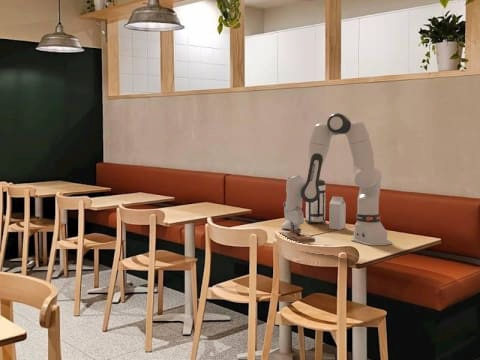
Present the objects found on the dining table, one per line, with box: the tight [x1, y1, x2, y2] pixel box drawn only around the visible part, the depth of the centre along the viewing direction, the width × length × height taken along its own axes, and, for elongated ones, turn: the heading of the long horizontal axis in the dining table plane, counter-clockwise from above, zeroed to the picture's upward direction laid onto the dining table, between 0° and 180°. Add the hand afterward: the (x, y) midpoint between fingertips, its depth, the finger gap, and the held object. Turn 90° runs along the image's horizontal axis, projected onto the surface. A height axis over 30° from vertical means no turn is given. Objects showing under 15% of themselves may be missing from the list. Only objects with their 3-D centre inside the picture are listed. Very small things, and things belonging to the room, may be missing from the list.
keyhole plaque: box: [286, 225, 312, 240], centre depth 323 cm, size 17×7×5 cm, turn 17°
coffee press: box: [304, 178, 327, 225], centre depth 371 cm, size 17×16×30 cm
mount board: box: [278, 229, 316, 243], centre depth 325 cm, size 22×12×4 cm, turn 17°
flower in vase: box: [281, 220, 301, 230], centre depth 352 cm, size 13×11×25 cm
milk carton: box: [328, 195, 347, 230], centre depth 353 cm, size 7×7×19 cm
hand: (294, 230), depth 329 cm, fingers open, 4 cm apart
